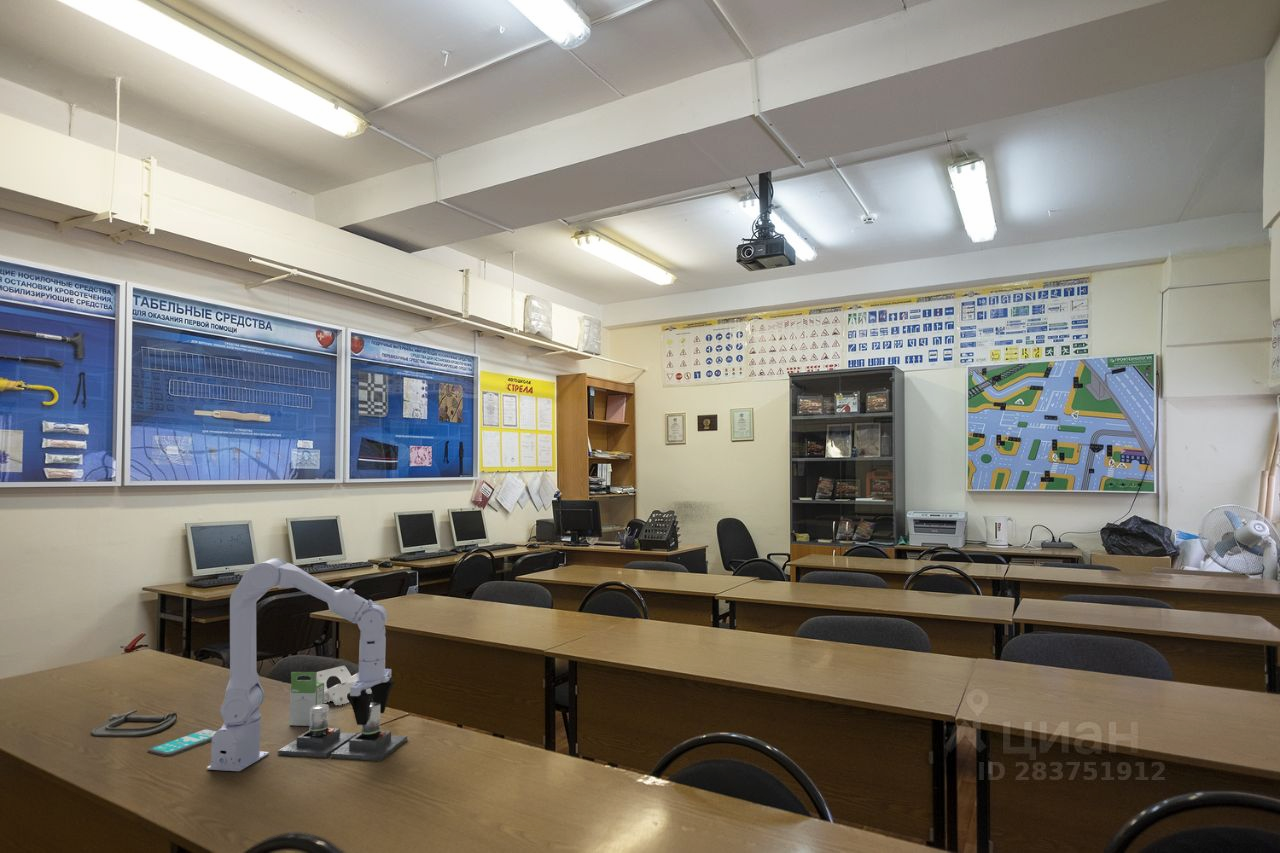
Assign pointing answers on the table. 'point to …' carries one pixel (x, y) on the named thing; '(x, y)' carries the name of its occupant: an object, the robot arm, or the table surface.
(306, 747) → the stand
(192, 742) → the smartphone
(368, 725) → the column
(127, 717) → the c clamp
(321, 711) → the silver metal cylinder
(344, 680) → the mounting bracket
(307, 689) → the ink box
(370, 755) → the stand
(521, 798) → the table surface
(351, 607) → the robot arm
